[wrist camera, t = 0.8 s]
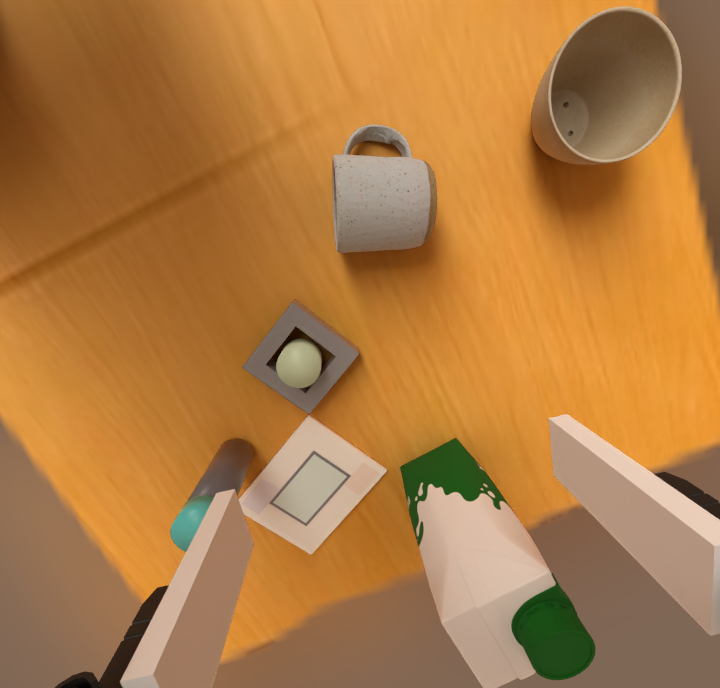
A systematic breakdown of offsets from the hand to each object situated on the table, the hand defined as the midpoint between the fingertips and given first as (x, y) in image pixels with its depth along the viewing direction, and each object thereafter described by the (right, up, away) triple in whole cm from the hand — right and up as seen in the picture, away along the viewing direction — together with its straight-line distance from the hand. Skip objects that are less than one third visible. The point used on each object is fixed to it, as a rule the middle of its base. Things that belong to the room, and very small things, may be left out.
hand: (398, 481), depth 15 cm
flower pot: (+17, +26, +18) cm, 36 cm away
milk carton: (+8, -9, +27) cm, 29 cm away
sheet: (-7, -11, +26) cm, 29 cm away
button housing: (-7, +5, +22) cm, 24 cm away
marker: (-15, -6, +24) cm, 29 cm away
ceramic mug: (0, +20, +19) cm, 27 cm away
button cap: (-7, +4, +21) cm, 22 cm away
